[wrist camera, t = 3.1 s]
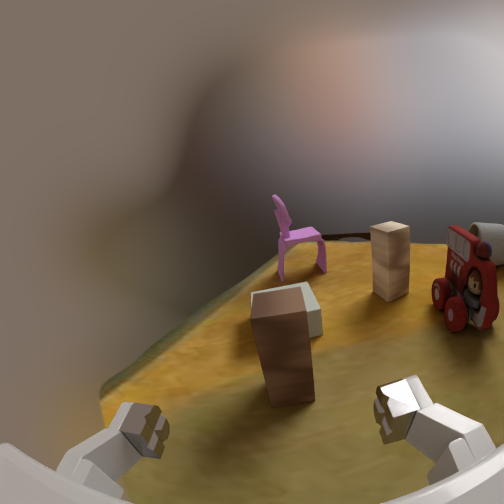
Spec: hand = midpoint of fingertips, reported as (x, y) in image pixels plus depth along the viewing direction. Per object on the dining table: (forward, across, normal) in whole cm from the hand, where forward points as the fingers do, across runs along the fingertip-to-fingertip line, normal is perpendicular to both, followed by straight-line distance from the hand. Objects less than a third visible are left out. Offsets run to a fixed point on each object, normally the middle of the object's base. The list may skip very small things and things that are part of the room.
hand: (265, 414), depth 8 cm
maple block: (+27, -17, +12) cm, 34 cm away
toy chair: (+41, -5, +12) cm, 43 cm away
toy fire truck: (+17, -24, +12) cm, 32 cm away
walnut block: (+12, -1, +12) cm, 17 cm away
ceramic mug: (+29, -39, +11) cm, 50 cm away
